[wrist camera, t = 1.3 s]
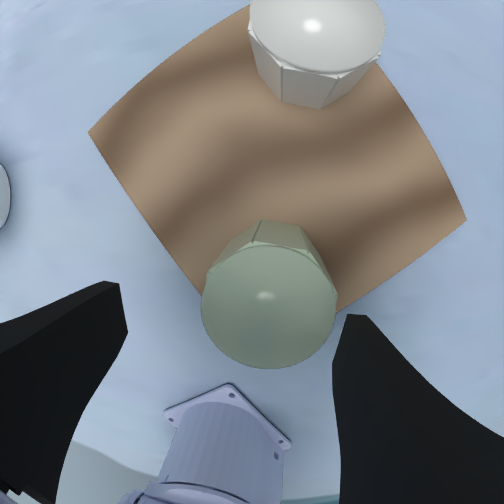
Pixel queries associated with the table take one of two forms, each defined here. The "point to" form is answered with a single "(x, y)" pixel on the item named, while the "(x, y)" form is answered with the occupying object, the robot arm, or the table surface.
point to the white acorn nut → (314, 46)
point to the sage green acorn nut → (269, 297)
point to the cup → (4, 196)
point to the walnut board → (276, 164)
